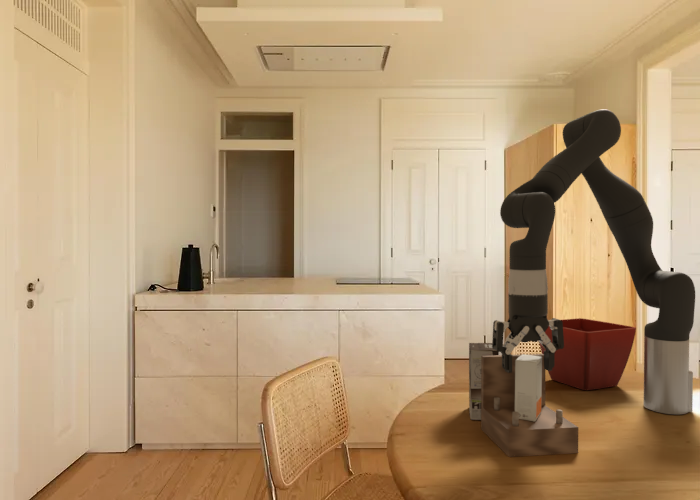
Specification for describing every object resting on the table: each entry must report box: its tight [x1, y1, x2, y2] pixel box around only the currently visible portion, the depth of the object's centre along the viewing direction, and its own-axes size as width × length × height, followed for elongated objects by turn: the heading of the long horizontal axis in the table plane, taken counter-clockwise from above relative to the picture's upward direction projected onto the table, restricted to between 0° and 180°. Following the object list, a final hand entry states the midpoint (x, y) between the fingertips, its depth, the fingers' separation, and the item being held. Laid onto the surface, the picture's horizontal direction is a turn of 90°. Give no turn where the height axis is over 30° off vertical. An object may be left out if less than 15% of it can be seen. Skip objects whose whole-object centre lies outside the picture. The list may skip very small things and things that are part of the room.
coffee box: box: [468, 342, 500, 421], centre depth 119 cm, size 9×6×16 cm
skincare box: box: [515, 353, 542, 422], centre depth 104 cm, size 6×4×12 cm
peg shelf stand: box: [480, 353, 579, 458], centre depth 104 cm, size 14×14×16 cm
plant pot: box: [538, 317, 637, 391], centre depth 144 cm, size 19×19×17 cm
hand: (528, 370), depth 103 cm, fingers open, 8 cm apart
